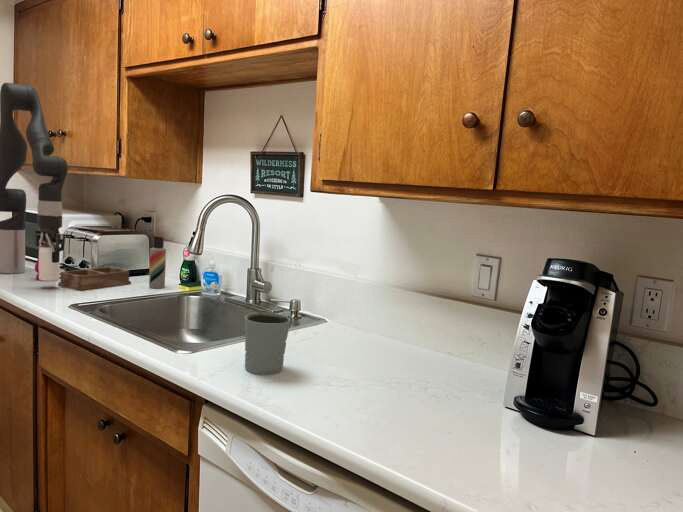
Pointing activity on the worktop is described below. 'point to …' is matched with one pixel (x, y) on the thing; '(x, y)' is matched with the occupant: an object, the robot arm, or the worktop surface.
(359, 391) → the worktop surface
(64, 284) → the caddy
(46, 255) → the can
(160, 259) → the striped water bottle
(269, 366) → the gray cup
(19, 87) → the robot arm
